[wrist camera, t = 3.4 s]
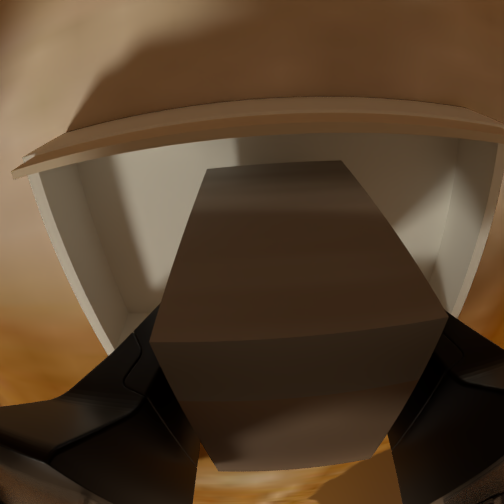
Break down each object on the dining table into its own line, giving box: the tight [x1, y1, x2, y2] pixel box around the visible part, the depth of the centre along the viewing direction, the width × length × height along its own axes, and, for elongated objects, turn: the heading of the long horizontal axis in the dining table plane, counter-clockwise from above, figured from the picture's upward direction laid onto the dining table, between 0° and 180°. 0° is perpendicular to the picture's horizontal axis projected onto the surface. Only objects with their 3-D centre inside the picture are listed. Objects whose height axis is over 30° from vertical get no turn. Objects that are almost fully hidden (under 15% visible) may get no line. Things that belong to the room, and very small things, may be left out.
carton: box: [11, 97, 504, 356], centre depth 10 cm, size 9×15×4 cm, turn 95°
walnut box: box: [149, 160, 448, 471], centre depth 8 cm, size 6×4×6 cm
